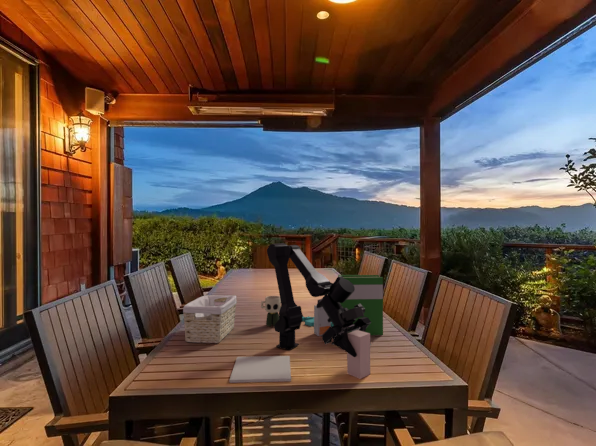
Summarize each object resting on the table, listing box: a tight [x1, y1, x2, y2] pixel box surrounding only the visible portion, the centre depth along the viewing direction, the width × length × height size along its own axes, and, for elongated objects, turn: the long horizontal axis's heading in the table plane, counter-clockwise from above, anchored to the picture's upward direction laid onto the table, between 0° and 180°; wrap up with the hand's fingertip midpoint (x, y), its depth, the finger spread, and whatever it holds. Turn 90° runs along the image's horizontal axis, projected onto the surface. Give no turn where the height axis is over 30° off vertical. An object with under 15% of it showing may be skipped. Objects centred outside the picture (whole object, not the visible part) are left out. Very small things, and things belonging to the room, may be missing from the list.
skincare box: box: [313, 304, 331, 337], centre depth 149 cm, size 6×4×12 cm
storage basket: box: [182, 294, 237, 344], centre depth 148 cm, size 24×16×15 cm
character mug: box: [260, 295, 281, 327], centre depth 161 cm, size 11×7×13 cm, turn 87°
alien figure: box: [301, 315, 334, 327], centre depth 169 cm, size 20×2×20 cm
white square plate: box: [229, 355, 292, 384], centre depth 113 cm, size 18×18×1 cm
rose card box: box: [346, 330, 371, 380], centre depth 109 cm, size 5×5×12 cm
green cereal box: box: [337, 274, 384, 336], centre depth 151 cm, size 18×7×24 cm, turn 91°
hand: (362, 353), depth 108 cm, fingers open, 6 cm apart
